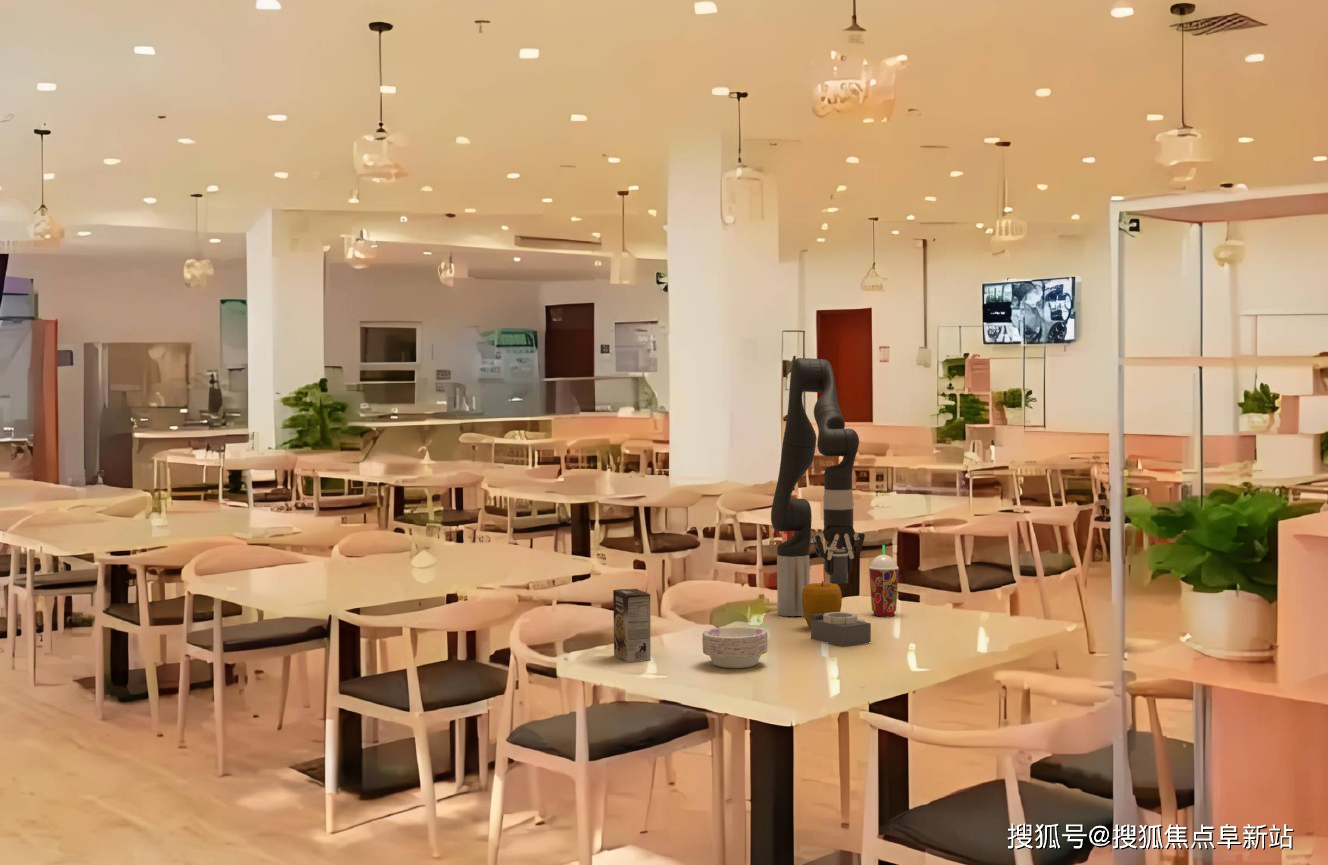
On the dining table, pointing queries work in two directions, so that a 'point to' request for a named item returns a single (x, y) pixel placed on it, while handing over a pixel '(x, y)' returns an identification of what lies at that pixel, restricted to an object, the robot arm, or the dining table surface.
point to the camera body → (840, 628)
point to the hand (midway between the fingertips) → (838, 573)
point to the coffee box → (631, 624)
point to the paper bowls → (735, 646)
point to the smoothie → (883, 584)
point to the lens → (839, 567)
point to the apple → (820, 599)
